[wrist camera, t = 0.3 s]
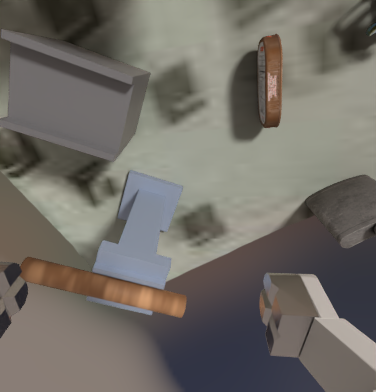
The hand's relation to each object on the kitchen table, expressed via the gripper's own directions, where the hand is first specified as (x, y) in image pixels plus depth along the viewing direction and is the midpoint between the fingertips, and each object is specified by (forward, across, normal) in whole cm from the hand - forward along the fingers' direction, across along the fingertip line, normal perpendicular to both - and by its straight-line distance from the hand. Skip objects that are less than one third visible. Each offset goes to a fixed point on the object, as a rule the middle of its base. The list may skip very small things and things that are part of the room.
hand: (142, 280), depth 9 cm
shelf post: (+47, +8, +24) cm, 53 cm away
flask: (+48, -34, +20) cm, 62 cm away
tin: (+49, -14, -2) cm, 51 cm away
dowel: (+19, +10, +22) cm, 31 cm away
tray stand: (+47, +17, 0) cm, 50 cm away
